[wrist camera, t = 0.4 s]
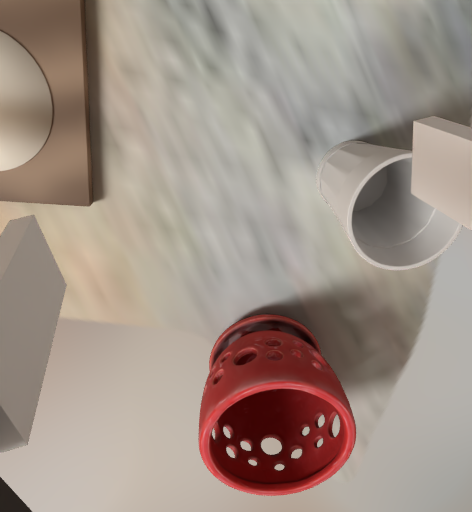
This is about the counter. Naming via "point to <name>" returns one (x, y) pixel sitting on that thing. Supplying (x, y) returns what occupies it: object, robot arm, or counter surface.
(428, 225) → the cup
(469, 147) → the robot arm
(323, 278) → the counter surface
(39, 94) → the walnut board
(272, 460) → the plant pot
